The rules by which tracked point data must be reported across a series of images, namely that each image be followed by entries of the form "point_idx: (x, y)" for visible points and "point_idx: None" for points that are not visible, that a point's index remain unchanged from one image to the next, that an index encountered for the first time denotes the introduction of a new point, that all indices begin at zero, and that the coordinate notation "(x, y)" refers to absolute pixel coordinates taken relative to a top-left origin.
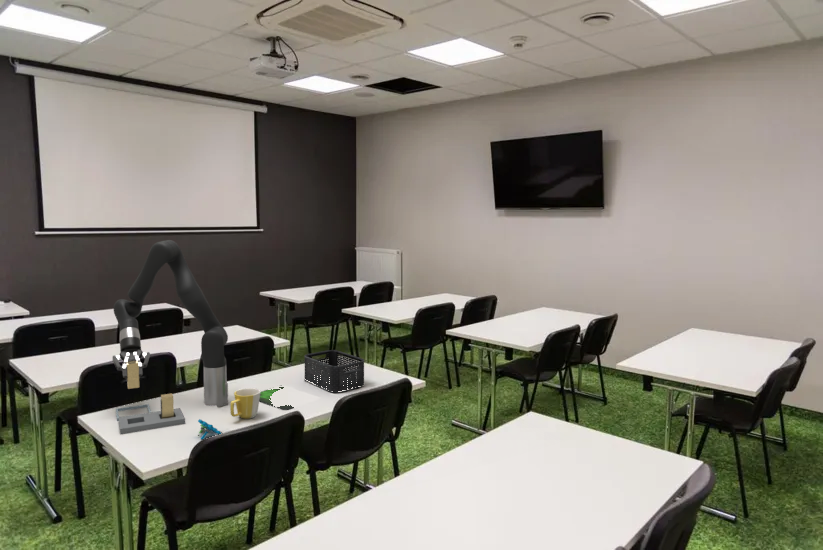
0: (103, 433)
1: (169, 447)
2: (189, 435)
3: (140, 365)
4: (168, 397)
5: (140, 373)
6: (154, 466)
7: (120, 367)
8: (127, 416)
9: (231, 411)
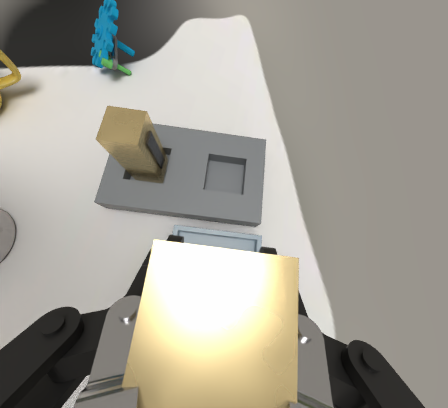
0: (291, 190)
1: (192, 59)
2: (142, 84)
3: (129, 305)
4: (125, 108)
5: (168, 240)
6: (230, 18)
7: (339, 355)
8: (239, 215)
9: (10, 61)
